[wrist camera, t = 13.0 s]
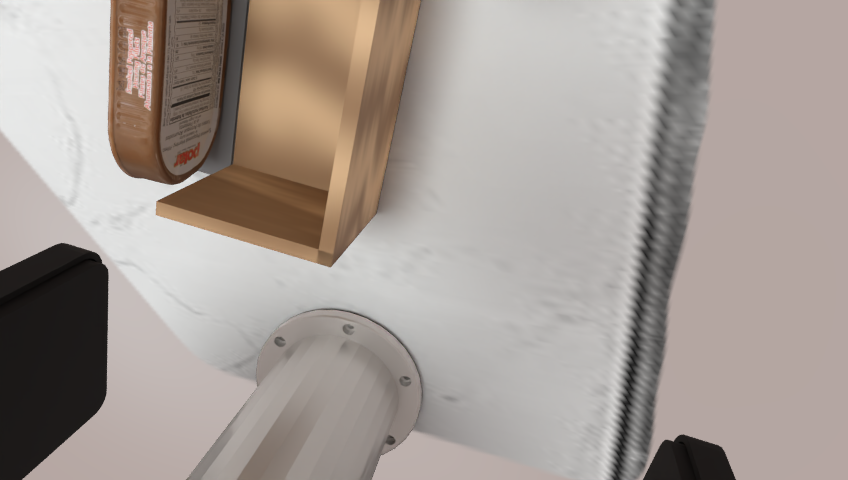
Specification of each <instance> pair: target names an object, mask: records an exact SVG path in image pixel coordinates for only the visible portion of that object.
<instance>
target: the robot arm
mask: <svg viewBox="0 0 848 480" xmlns="http://www.w3.org/2000/svg"><path fill="white" fill-rule="evenodd" d="M107 331H108V269H107V268H106V266H105V265H104V264H102V260H101V258H100V256H99V255H98V254H97V253H95V252H92V251H89V250H85V249H82V248H79V247H76V246H72V245H69V244H65V243H60V244H57V245H54V246H52V247H50V248H48V249H46V250H44V251H42V252H39V253H38V254H35V255H33V256H31V257H29V258H27V259H25V260H23V261H21V262H18V263H16V264H14V265H12V266H10V267H8V268H6V269H4V270H2V271H0V480H22V479H23V478H24V477H25V476H26V475H28V474H29V473H30V472H31V471H32V470H33V469H34V468H35V467H37V466H38V465H39V464H40V463H41V462H42V461H43V460H44V459H46V458H47V457H48V456H49V455H50V454H51V453H52V452H53V451H54V450H56V449H57V448H58V447H59V446H60V445H61V444H62V443H63V442H65V440H67V439H68V438H69V437H70V436H71V435H72V434H73V433H75V432H76V431H77V430H78V429H79V428H80V427H81V426H82V425H84V424H85V423H86V422H87V421H88V420H89V419H90V418H91V417H93V415H95V414H96V413H97V411H98V410H99V409H100V407H101V406H102V404H103V402H104V400H105V397H106V391H107V390H106V389H107ZM256 377H257V389H256V390H255V391H254V392H253V394H252V395H251V396H250V398H249V399H248V400H247V402H246V403H245V404H244V405H243V407H242V408H241V409H240V411H239V412H238V413H237V415H236V416H235V417H234V419H233V420H232V421H231V422H230V424H229V425H228V426H227V428H226V429H225V430H224V431H223V433H222V434H221V435H220V437H219V438H218V439H217V441H216V442H215V443H214V445H213V446H212V447H211V448H210V450H209V451H208V452H207V454H206V455H205V456H204V457H203V459H202V460H201V461H200V463H199V464H198V465H197V467H196V468H195V469H194V470H193V472H192V473H191V474H190V476H189V477H188V478H187V479H186V480H371V479H372V477H373V474H374V472H375V469H376V466H377V464H378V461H379V458H380V456H381V455H383V454H385V453H387V452H389V451H391V450H392V449H394V448H396V447H397V446H398V445H399V444H400V443H402V442H403V441H404V440H405V439H406V438H407V436H408V435H409V433H410V432H411V431H412V429H413V427H414V425H415V422H416V420H417V418H418V414H419V410H420V407H421V399H422V388H421V382H420V377H419V374H418V371H417V369H416V366H415V364H414V362H413V360H412V358H411V357H410V355H409V354H408V352H407V351H406V349H405V348H404V347H403V346H402V345H401V343H400V342H399V341H398V340H397V339H396V338H395V337H394V336H393V335H392V334H390V333H389V332H388V331H386V330H385V329H384V328H383V327H381V326H380V325H378V324H376V323H374V322H372V321H370V320H369V319H367V318H364V317H361V316H359V315H356V314H353V313H350V312H344V311H338V310H315V311H310V312H305V313H302V314H300V315H297V316H295V317H292V318H290V319H289V320H287V321H286V322H284V323H283V324H282V325H280V326H279V327H278V328H277V329H276V330H275V331H274V333H273V334H272V335H271V336H270V337H269V338H268V340H267V341H266V343H265V344H264V346H263V347H262V350H261V352H260V355H259V358H258V362H257V369H256ZM643 480H736V479H735V477H734V474H733V472H732V469H731V467H730V464H729V462H728V459H727V457H726V454H725V452H724V450H723V449H722V447H720V446H718V445H715V444H712V443H709V442H705V441H702V440H699V439H696V438H693V437H689V436H686V435H679V436H678V437H677V438H676V439H675V440H674V442H673V441H670V440H665V441H664V442H662V444H661V445H660V447H659V449H658V451H657V453H656V455H655V457H654V459H653V461H652V463H651V465H650V467H649V469H648V471H647V473H646V475H645V477H644V479H643Z"/></svg>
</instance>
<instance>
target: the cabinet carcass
mask: <svg viewBox="0 0 848 480" xmlns="http://www.w3.org/2000/svg"><path fill="white" fill-rule="evenodd" d="M420 3H421V0H250V3H249V13H248V23H247V32H246V42H245V52H244V62H243V72H242V81H241V91H240V101H239V111H238V121H237V130H236V140H235V150H234V160H233V164H232V165H230V166H228V167H226V168H224V169H222V170H220V171H218V172H216V173H214V174H212V175H209V176H207V177H205V178H203V179H201V180H199V181H197V182H195V183H193V184H191V185H189V186H187V187H185V188H183V189H181V190H179V191H177V192H175V193H173V194H171V195H168V196H166V197H164V198H162V199H160V200H158V201H157V203H156V215H158V216H161V217H164V218H168V219H171V220H174V221H178V222H181V223H184V224H188V225H191V226H194V227H198V228H201V229H204V230H208V231H211V232H214V233H218V234H221V235H224V236H228V237H231V238H234V239H238V240H241V241H244V242H248V243H251V244H254V245H258V246H261V247H264V248H268V249H271V250H274V251H278V252H281V253H284V254H288V255H291V256H294V257H298V258H301V259H304V260H308V261H311V262H314V263H318V264H321V265H324V266H328V267H332V265H333V264H334V263H335V262H336V261H337V259H338V258H339V257H340V256H341V255H342V254H343V252H344V251H345V250H346V249H347V248H348V246H349V245H350V244H351V243H352V242H353V241H354V239H355V238H356V237H357V236H358V235H359V233H360V232H361V231H362V230H363V229H364V227H365V226H366V225H367V224H368V223H369V222H370V220H371V219H372V218H373V217H374V216H375V214H376V213H377V208H378V203H379V198H380V193H381V189H382V184H383V179H384V174H385V170H386V165H387V160H388V155H389V151H390V146H391V141H392V136H393V131H394V127H395V122H396V117H397V112H398V108H399V103H400V98H401V93H402V89H403V84H404V79H405V74H406V69H407V65H408V60H409V55H410V50H411V46H412V41H413V36H414V31H415V27H416V22H417V17H418V12H419V7H420Z"/></svg>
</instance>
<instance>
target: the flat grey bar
mask: <svg viewBox="0 0 848 480" xmlns="http://www.w3.org/2000/svg"><path fill="white" fill-rule="evenodd" d="M249 2H250V0H232V3H231V15H230V26H229V37H228V48H227V58H226V68H225V78H224V87H223V98H222V106H221V116H220V122H219V127H218V130H217V134H216V137H215V140H214V143H213V146H212V148H211V151H210V153H209V155H208V157H207V159H206V160H205V162H204V164H203V165H202V166H201V168H200V169H199V170H198V171H200V172H204V173H207V174H211V175H212V174H214V173H216V172H218V171H220V170H222V169H224V168H226V167H228V166H230V165H232V164H233V159H234V149H235V139H236V129H237V119H238V109H239V100H240V90H241V80H242V70H243V60H244V51H245V41H246V31H247V21H248V11H249Z"/></svg>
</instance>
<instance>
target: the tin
mask: <svg viewBox="0 0 848 480" xmlns="http://www.w3.org/2000/svg"><path fill="white" fill-rule="evenodd" d="M231 3H232V0H111V17H110V64H109V105H108V135H109V142H110V146H111V150H112V153H113V156H114V158H115V160H116V162H117V164H118V166H119V167H120V168H121V170H122V171H123V172H125V173H126V174H127V175H129V176H131V177H134V178H144V179H148V180H152V181H156V182H160V183H165V184H170V185H174V184H178V183H181V182H183V181H184V180H186V179H187V178H189V177H190V176H191V175H192V174H194V173H195V172H196V171H198V170H199V169H200V168H201V166H202V165H203V164H204V162H205V160H206V159H207V157H208V155H209V153H210V151H211V148H212V146H213V143H214V140H215V137H216V134H217V130H218V127H219V122H220V116H221V106H222V98H223V87H224V78H225V68H226V58H227V48H228V37H229V26H230V15H231Z"/></svg>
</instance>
